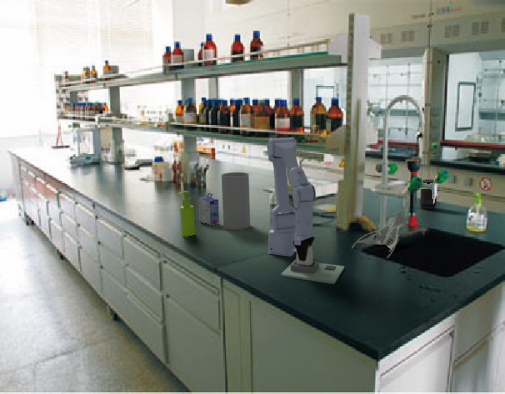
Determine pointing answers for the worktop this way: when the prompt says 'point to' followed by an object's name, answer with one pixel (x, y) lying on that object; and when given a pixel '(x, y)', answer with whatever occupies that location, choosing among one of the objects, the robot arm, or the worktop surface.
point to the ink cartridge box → (208, 210)
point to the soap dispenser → (187, 215)
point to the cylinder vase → (235, 200)
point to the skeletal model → (389, 229)
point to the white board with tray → (314, 272)
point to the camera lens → (427, 197)
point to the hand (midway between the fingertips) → (304, 258)
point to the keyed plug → (308, 259)
